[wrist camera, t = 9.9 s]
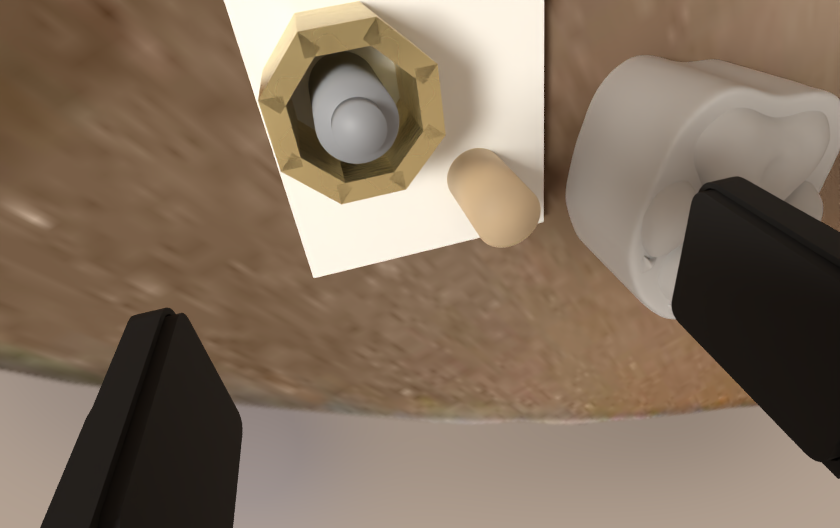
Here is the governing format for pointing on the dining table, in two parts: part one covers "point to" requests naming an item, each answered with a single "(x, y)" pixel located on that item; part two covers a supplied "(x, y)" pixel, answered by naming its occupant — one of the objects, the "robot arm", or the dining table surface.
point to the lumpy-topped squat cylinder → (688, 158)
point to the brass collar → (300, 142)
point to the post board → (470, 116)
